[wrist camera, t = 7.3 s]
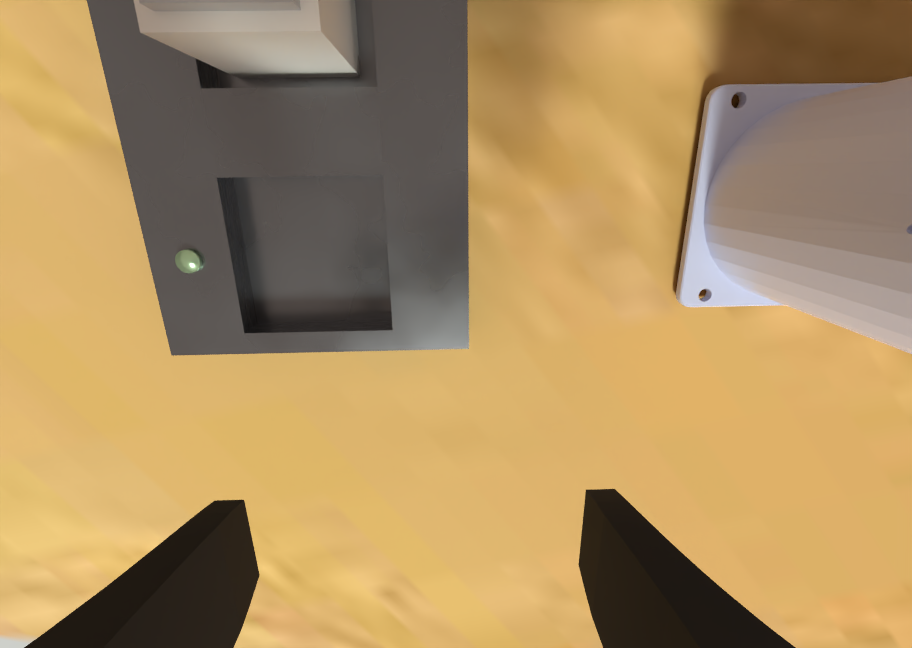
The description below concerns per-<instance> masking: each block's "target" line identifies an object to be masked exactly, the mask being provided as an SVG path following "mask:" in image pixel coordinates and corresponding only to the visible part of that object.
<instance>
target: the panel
mask: <svg viewBox="0 0 912 648" xmlns="http://www.w3.org/2000/svg"><path fill="white" fill-rule="evenodd" d="M87 3H88V7H89V11H90V15H91V20H92V24H93V28H94V32H95V36H96V41H97V45H98V49H99V53H100V57H101V62H102V66H103V70H104V74H105V78H106V82H107V87H108V91H109V95H110V99H111V103H112V108H113V112H114V116H115V120H116V124H117V129H118V133H119V137H120V141H121V145H122V150H123V154H124V158H125V162H126V166H127V170H128V175H129V179H130V183H131V187H132V191H133V196H134V200H135V204H136V208H137V212H138V217H139V221H140V225H141V229H142V233H143V238H144V242H145V246H146V250H147V254H148V259H149V263H150V267H151V271H152V275H153V279H154V284H155V288H156V292H157V296H158V300H159V305H160V309H161V313H162V317H163V321H164V326H165V330H166V334H167V338H168V342H169V347H170V351H171V355H210V354H255V353H299V352H344V351H388V350H433V349H469V271H468V49H467V0H355V8H356V22H357V36H358V49H359V63H360V76H361V77H308V78H237V77H235V76H233V75H231V74H229V73H226V72H224V71H222V70H220V69H218V68H216V67H213V66H211V65H209V64H207V63H205V62H203V61H200V60H198V59H196V58H194V57H192V56H190V55H188V54H185V53H183V52H181V51H179V50H177V49H175V48H172V47H170V46H168V45H166V44H164V43H162V42H159V41H157V40H155V39H153V38H151V37H149V36H147V35H144V34H142V33H140V29H139V24H138V19H137V15H136V10H135V5H134V0H87Z"/></svg>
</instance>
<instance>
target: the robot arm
mask: <svg viewBox="0 0 912 648" xmlns="http://www.w3.org/2000/svg"><path fill="white" fill-rule="evenodd" d="M735 94H737V95H738V97H739V104H738V106H737V107H736V108H734V107H733V106H732V103H731V100H732V97H733V95H735ZM703 289H706V294H705V296H704V297H703V298H701V299H699V296H698V295H699V293H700V292H701V291H702V290H703ZM676 299H677V300H678V302H679V303H681V304H682V305H684V306H687V307H720V306H769V305H786V306H789V307H791V308H794V309H796V310H799V311H802V312H804V313H807V314H809V315H812V316H815V317H817V318H820V319H822V320H825V321H828V322H830V323H833V324H835V325H838V326H841V327H843V328H846V329H848V330H851V331H853V332H856V333H859V334H861V335H864V336H866V337H869V338H872V339H874V340H877V341H879V342H882V343H885V344H887V345H890V346H892V347H895V348H897V349H900V350H903V351H905V352H908V353H910V354H912V76H910V77H906V78H901V79H896V80H891V81H886V82H882V83H818V84H726V85H722V86H718V87H716V88H714V89H713V90H711V91H710V92H709V94H708V95H707V97H706V100H705V104H704V111H703V118H702V124H701V131H700V138H699V144H698V151H697V157H696V164H695V171H694V177H693V184H692V190H691V197H690V204H689V210H688V217H687V224H686V230H685V237H684V243H683V250H682V257H681V263H680V270H679V276H678V283H677V290H676ZM579 568H580V572H581V576H582V580H583V584H584V588H585V592H586V596H587V600H588V603H589V607H590V611H591V614H592V618H593V621H594V623H595V626H596V629H597V632H598V634H599V637H600V640H601V643H602V645H603V648H795V647H794V646H793V645H791V644H790V643H789V642H787V641H786V640H785V639H783V638H782V637H781V636H779V635H778V634H777V633H776V632H774V631H773V630H772V629H771V628H769V627H768V626H767V625H765V624H764V623H763V622H762V621H760V620H759V619H758V618H757V617H756V616H754V615H753V614H752V613H751V612H749V611H748V610H747V609H746V608H745V607H743V606H742V605H741V604H740V603H739V602H737V601H736V600H735V599H734V598H733V597H731V596H730V595H729V594H728V593H727V592H725V591H724V590H723V589H722V588H721V587H720V586H718V585H717V584H716V583H715V582H714V581H713V580H711V579H710V578H709V577H708V576H707V575H706V574H705V573H703V572H702V571H701V570H700V569H699V568H698V567H697V566H696V565H695V564H693V563H692V562H691V561H690V560H689V559H688V558H687V557H686V556H685V555H684V554H682V553H681V552H680V551H679V550H678V549H677V548H676V547H675V546H674V545H673V544H672V543H671V542H669V541H668V540H667V539H666V538H665V537H664V536H663V535H662V534H661V533H660V532H659V531H658V530H657V529H656V528H655V527H654V526H653V525H652V524H650V523H649V522H648V521H647V520H646V519H645V518H644V517H643V516H642V515H641V514H640V513H639V512H638V511H637V510H636V509H635V508H634V507H633V506H632V505H631V504H630V503H629V502H628V501H627V500H626V499H625V498H624V497H623V496H621V495H620V494H619V493H618V492H617V491H616V490H615V489H600V490H586V496H585V506H584V516H583V526H582V536H581V547H580V557H579ZM258 578H259V571H258V566H257V561H256V556H255V551H254V546H253V541H252V537H251V532H250V527H249V522H248V517H247V512H246V507H245V502H244V500H222V501H214V502H212V503H211V504H210V505H208V506H207V507H206V508H204V509H203V510H202V511H200V512H199V513H198V514H197V515H195V516H194V517H193V518H192V519H190V520H189V521H188V522H187V523H185V524H184V525H183V526H182V527H180V528H179V529H178V530H177V531H175V532H174V533H173V534H172V535H170V536H169V537H168V538H167V539H166V540H164V541H163V542H162V543H161V544H159V545H158V546H157V547H156V548H154V549H153V550H152V551H151V552H149V553H148V554H147V555H146V556H144V557H143V558H142V559H141V560H139V561H138V562H137V563H136V564H134V565H133V566H132V567H131V568H129V569H128V570H127V571H126V572H124V573H123V574H122V575H121V576H119V577H118V578H117V579H115V580H114V581H113V582H112V583H110V584H109V585H108V586H107V587H105V588H104V589H103V590H101V591H100V592H99V593H97V594H96V595H95V596H93V597H92V598H91V599H89V600H88V601H87V602H85V603H84V604H83V605H81V606H80V607H79V608H77V609H76V610H75V611H73V612H72V613H71V614H69V615H68V616H67V617H65V618H64V619H63V620H61V621H60V622H59V623H57V624H56V625H55V626H53V627H52V628H51V629H49V630H48V631H47V632H45V633H44V634H43V635H41V636H40V637H38V638H37V639H36V640H34V641H33V642H31V643H30V644H29V645H27V646H26V647H24V648H233V647H234V645H235V643H236V640H237V638H238V636H239V634H240V631H241V629H242V626H243V623H244V621H245V618H246V615H247V612H248V609H249V606H250V603H251V600H252V597H253V594H254V590H255V587H256V584H257V581H258Z"/></svg>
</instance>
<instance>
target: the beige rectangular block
mask: <svg viewBox="0 0 912 648" xmlns="http://www.w3.org/2000/svg"><path fill="white" fill-rule="evenodd" d="M134 5H135V10H136V15H137V19H138V24H139V29H140V33H142V34H144V35H147V36H149V37H151V38H153V39H155V40H157V41H159V42H162V43H164V44H166V45H168V46H170V47H172V48H175V49H177V50H179V51H181V52H183V53H185V54H188V55H190V56H192V57H194V58H196V59H198V60H200V61H203V62H205V63H207V64H209V65H211V66H213V67H216V68H218V69H220V70H222V71H224V72H226V73H229V74H231V75H233V76H235V77H237V78H308V77H361V76H360V63H359V49H358V36H357V22H356V8H355V0H134Z"/></svg>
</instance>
